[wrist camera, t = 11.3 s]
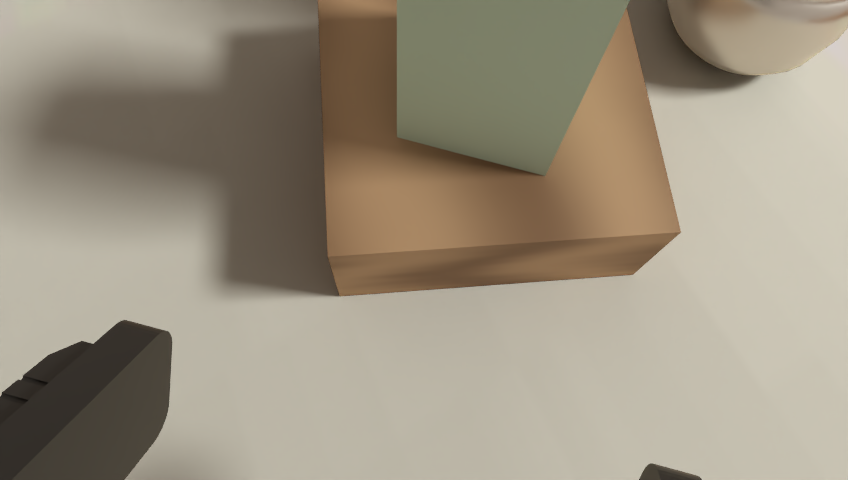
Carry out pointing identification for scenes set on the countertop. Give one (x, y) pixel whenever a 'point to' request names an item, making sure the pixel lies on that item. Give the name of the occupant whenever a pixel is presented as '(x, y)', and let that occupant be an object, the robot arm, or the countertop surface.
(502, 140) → the block
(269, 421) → the countertop surface
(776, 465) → the countertop surface
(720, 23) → the plastic bottle
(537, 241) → the base
